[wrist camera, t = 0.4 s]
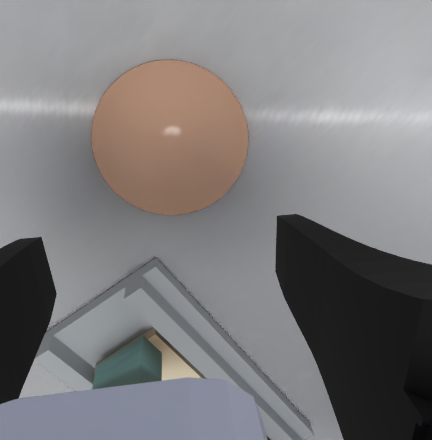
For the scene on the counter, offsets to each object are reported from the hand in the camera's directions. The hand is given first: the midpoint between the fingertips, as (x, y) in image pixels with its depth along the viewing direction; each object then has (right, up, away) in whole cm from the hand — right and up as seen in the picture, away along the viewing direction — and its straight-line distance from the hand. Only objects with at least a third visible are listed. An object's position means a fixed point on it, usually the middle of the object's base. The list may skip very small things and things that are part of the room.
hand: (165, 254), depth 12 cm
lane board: (-1, -11, +16) cm, 19 cm away
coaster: (-1, +5, +8) cm, 10 cm away
